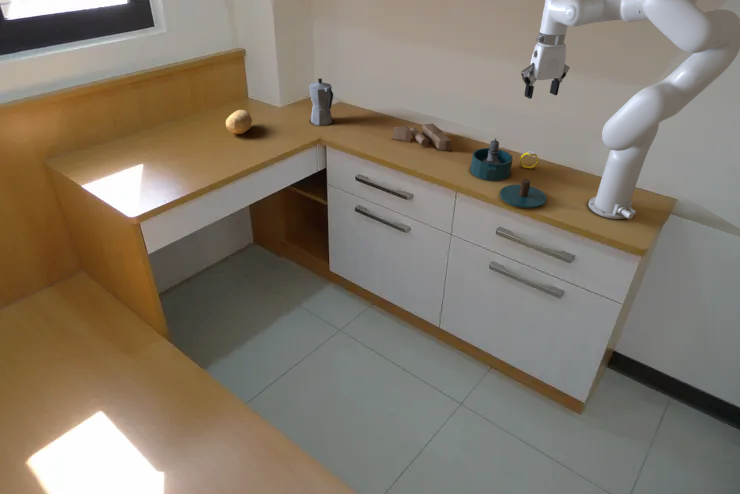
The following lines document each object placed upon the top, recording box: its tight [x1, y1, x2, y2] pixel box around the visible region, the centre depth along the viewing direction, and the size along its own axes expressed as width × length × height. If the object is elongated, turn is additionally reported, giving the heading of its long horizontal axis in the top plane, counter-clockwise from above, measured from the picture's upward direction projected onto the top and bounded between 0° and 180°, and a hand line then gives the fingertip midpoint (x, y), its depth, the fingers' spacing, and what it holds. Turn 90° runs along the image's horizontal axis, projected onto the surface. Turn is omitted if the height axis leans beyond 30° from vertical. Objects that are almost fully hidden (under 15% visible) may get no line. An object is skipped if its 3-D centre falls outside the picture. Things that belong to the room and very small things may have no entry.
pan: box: [470, 146, 514, 182], centre depth 177 cm, size 13×19×6 cm
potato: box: [225, 109, 253, 135], centre depth 203 cm, size 10×14×8 cm
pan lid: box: [499, 178, 548, 209], centre depth 162 cm, size 14×14×6 cm
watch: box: [519, 150, 539, 170], centre depth 181 cm, size 6×3×6 cm, turn 78°
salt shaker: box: [483, 138, 500, 164], centre depth 175 cm, size 6×6×12 cm
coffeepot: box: [308, 77, 334, 127], centre depth 210 cm, size 15×9×18 cm, turn 37°
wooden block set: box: [392, 123, 452, 151], centre depth 196 cm, size 17×6×18 cm
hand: (540, 95), depth 164 cm, fingers open, 9 cm apart
